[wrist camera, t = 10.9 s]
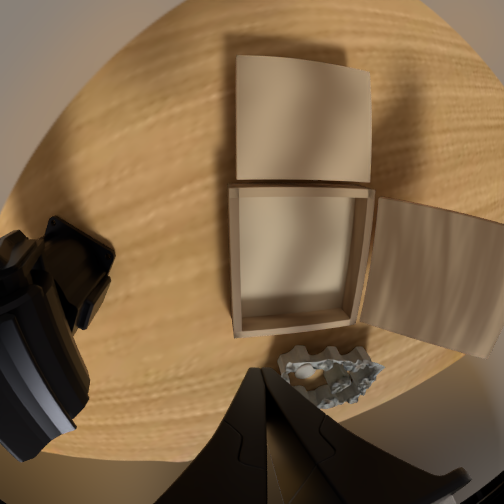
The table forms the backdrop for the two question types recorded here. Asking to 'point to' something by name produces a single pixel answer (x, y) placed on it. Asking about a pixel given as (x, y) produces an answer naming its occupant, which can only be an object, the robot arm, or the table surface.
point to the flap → (436, 277)
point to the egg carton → (331, 374)
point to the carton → (299, 195)
